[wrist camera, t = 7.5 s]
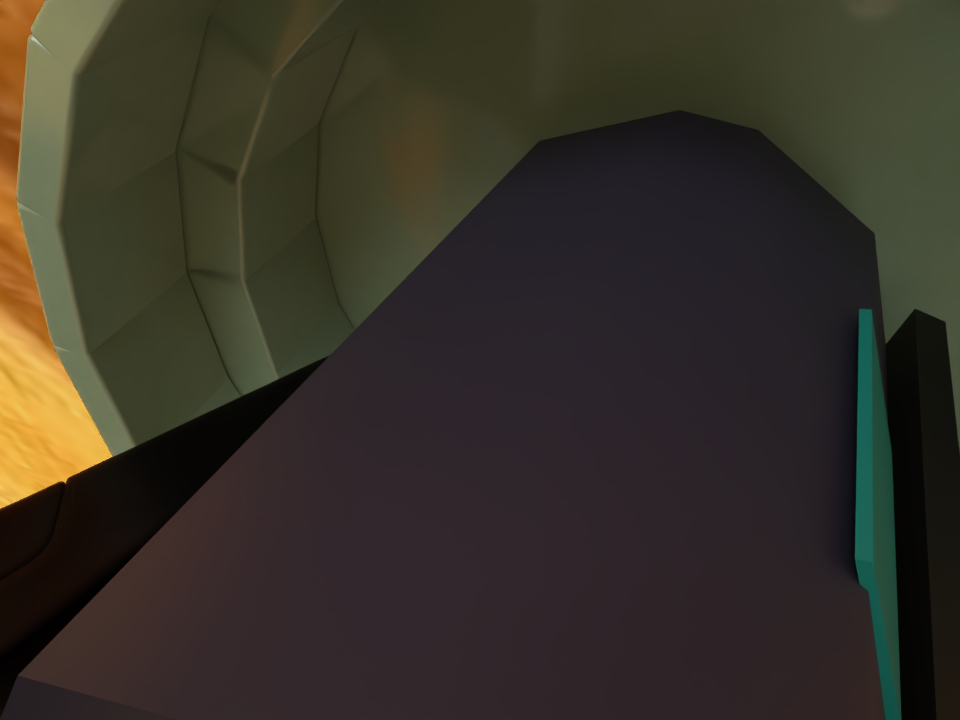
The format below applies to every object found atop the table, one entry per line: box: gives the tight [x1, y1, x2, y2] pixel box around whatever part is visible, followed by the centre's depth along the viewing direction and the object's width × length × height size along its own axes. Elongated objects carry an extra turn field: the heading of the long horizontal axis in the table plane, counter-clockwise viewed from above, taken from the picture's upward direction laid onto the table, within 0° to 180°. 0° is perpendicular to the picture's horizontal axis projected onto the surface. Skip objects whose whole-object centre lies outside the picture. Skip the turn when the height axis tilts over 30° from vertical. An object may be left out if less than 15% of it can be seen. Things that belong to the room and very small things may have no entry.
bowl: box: [16, 0, 960, 457], centre depth 11 cm, size 14×14×5 cm
